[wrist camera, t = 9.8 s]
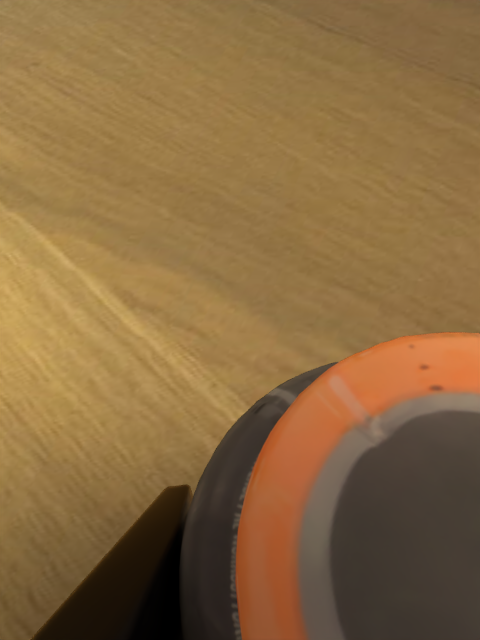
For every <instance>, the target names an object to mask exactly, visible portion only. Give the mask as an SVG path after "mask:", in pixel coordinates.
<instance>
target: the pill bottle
mask: <svg viewBox="0 0 480 640" xmlns="http://www.w3.org/2000/svg"><path fill="white" fill-rule="evenodd" d="M179 604H180V612H181V618H180V619H181V627H182V635H183V640H480V333H462V332H443V333H432V334H423V335H414V336H403V337H400V338H396V339H394V340H391V341H388V342H383V343H380V344H378V345H376V346H373V347H371V348H369V349H366V350H364V351H362V352H359V353H356V354H354V355H352V356H349V357H347V358H345V359H343V360H342V361H340V362H335V363H331V364H327V365H324V366H321V367H318V368H316V369H313V370H310V371H308V372H305V373H303V374H301V375H299V376H296V377H294V378H292V379H290V380H288V381H286V382H284V383H283V384H281V385H279V386H278V387H276V388H275V389H273V390H272V391H271V392H269V393H268V394H267V395H265V396H264V397H262V398H261V399H260V400H258V401H257V402H256V403H255V404H254V405H253V406H252V407H251V408H250V409H249V410H248V411H247V412H246V413H245V414H243V415H242V416H241V417H240V418H239V419H238V420H237V422H236V423H235V424H234V425H233V426H232V427H231V428H230V430H229V431H228V432H227V433H226V435H225V436H224V438H223V440H222V441H221V442H220V444H219V445H218V447H217V448H216V450H215V452H214V453H213V455H212V457H211V459H210V461H209V463H208V464H207V466H206V468H205V470H204V472H203V474H202V476H201V478H200V480H199V482H198V485H197V488H196V491H195V493H194V496H193V499H192V502H191V505H190V509H189V512H188V516H187V519H186V524H185V529H184V535H183V540H182V546H181V555H180V565H179Z"/></svg>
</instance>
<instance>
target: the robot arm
mask: <svg viewBox="0 0 480 640" xmlns="http://www.w3.org/2000/svg"><path fill="white" fill-rule="evenodd" d="M192 499H193V495H192V490H191V488H190V486H189V485H178V486H170V487H167V488H165V489H164V490H163V492H162V493H161V494H160V495H159V496H158V497H157V498H156V499H155V500H154V502H153V503H152V504H151V505H150V506H149V507H148V508H147V509H146V511H145V512H144V513H143V514H142V515H141V516H140V517H139V518H138V520H137V521H136V522H135V523H134V524H133V525H132V526H131V527H130V529H129V530H128V531H127V532H126V533H125V534H124V535H123V536H122V538H121V539H120V540H119V541H118V542H117V543H116V544H115V545H114V546H113V548H112V549H111V550H110V551H109V552H108V553H107V554H106V555H105V557H104V558H103V559H102V560H101V561H100V562H99V563H98V564H97V566H96V567H95V568H94V569H93V570H92V571H91V572H90V573H89V575H88V576H87V577H86V578H85V579H84V580H83V581H82V582H81V584H80V585H79V586H78V587H77V588H76V589H75V590H74V591H73V592H72V594H71V595H70V596H69V597H68V598H67V599H66V600H65V601H64V603H63V604H62V605H61V606H60V607H59V608H58V609H57V610H56V612H55V613H54V614H53V615H52V616H51V617H50V618H49V619H48V621H47V622H46V623H45V624H44V625H43V626H42V627H41V628H40V630H39V631H38V632H37V633H36V634H35V635H34V636H33V637H32V639H31V640H183V635H182V627H181V619H180V618H181V612H180V604H179V565H180V555H181V546H182V540H183V535H184V529H185V524H186V519H187V516H188V512H189V509H190V505H191V502H192Z"/></svg>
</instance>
